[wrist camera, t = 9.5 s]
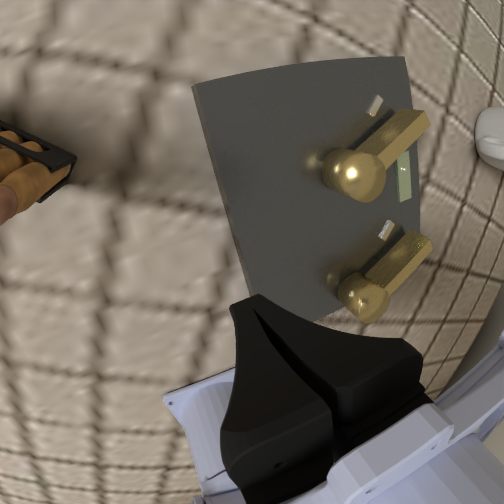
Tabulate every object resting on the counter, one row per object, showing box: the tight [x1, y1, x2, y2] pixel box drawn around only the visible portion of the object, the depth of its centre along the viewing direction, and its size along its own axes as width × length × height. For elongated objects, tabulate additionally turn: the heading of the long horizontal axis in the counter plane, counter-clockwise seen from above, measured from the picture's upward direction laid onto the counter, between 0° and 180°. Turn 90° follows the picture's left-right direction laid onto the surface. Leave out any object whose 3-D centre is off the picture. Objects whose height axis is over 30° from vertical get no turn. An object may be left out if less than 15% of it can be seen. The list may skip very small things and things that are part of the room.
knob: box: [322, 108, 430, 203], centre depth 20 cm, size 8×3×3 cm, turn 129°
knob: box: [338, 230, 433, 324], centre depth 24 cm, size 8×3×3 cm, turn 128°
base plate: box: [191, 57, 420, 322], centre depth 22 cm, size 19×16×2 cm
